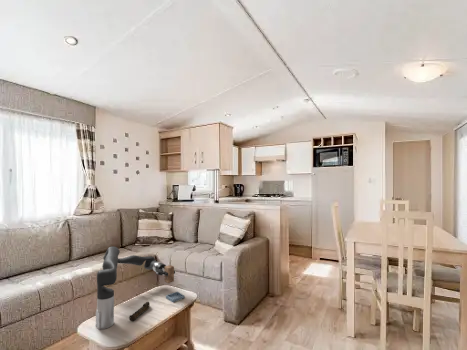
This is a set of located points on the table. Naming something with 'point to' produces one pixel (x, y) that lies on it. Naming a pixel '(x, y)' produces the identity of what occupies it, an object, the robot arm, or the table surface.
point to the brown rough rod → (139, 311)
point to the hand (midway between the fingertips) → (171, 273)
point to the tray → (175, 296)
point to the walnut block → (169, 274)
